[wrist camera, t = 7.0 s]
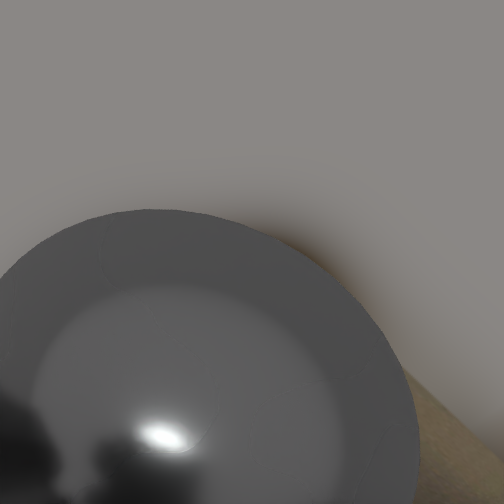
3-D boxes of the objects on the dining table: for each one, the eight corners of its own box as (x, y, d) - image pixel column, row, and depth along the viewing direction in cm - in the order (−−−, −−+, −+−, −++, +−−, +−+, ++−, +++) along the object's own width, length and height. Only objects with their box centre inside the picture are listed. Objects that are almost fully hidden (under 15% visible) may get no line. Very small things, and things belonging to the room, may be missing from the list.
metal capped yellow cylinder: (175, 449, 12) (-15, 563, 1) (176, 345, 15) (-17, 205, 3) (288, 451, 12) (405, 623, 1) (285, 345, 15) (407, 187, 3)
